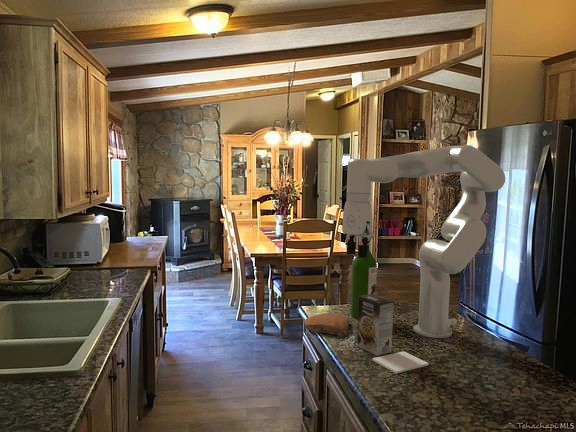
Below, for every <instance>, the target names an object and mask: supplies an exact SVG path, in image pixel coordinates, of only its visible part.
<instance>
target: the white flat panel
mask: <svg viewBox="0 0 576 432" xmlns="http://www.w3.org/2000/svg"><path fill="white" fill-rule="evenodd" d="M372 362H374V363H375V364H378V365H380V366H382V367H383V368H386V370H389V371H391V372H393V373H395V374H400V373H403V372H407V371H411V370H416V369H419V368H420V369H421V368H424V367H427V366H429V362H427V361H425V360H423V359H420V358H419V357H416V356H414V355H412V354H410V353H408V352H406V351H404V350H403V351H402V350H401V351H400V352H399V351H398V352H395V353H390V354H389V353H388V354H384V355H380V356H376V357H373V358H372Z"/></svg>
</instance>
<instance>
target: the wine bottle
mask: <svg viewBox="0 0 576 432" xmlns="http://www.w3.org/2000/svg"><path fill="white" fill-rule="evenodd" d="M362 235H364V234H362ZM363 239H364V237H363ZM370 243H371V241H370V242H369V245H367V257H364V258H359V257H358V254H356V257H355V258H354V259H353V261H352V265H351V267H352V268H351V269H352V271H351V294H350V295H351V297H350V316H351V317H352V318H354V319H356V320H358V308H359V296H362V295H370V294H375V295H377V274H378V273H377V272H378V270H377V269H378V268H377V267H378V266H377V265H378V264H377V261H376V259H375V257H374V255H373V254H372V252H371V250H370V245H371V244H370Z"/></svg>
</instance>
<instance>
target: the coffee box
mask: <svg viewBox="0 0 576 432" xmlns="http://www.w3.org/2000/svg"><path fill="white" fill-rule="evenodd" d="M394 309H395V301H394V299H393V300H392V299H390V298H386V297H383V296H380V295H378V294H376V295H375V294H370V295H362V296H359V308H358V319H357V336H356V337H357V338H356V342H357V343H356V346H357V348H360V349H362V350H364V351H366V352H368V353H370V354H373V355H374V356H376V357H379V356H383V355H387V354H389V353H390V354H391V353H392V343H393V342H392V341H393V324H394Z"/></svg>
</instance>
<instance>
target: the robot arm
mask: <svg viewBox="0 0 576 432" xmlns="http://www.w3.org/2000/svg"><path fill="white" fill-rule="evenodd" d="M346 171H347V172H346V173H347V176H346V177H347V179H346V201H345V203H344V207H343V212H342V220H341V221H342V225H341V227H342V228H341V232H342V234H344V237H345V242H346V255H349V256H350V255H355V254H356V252H357V255H358V257H359V258H364V257H367V245H369V242H370V243H371V240H372V239H373V238H374V237H375V234H374V232H373V210H372V204H371V203H372V202H371V201H372V183H380V184H387V183H392V182H394V181H395V180H396V179H400V178H401V179H402V178H410V179H411V178H412V179H413V178H414V179H415V178H425V177H431V176H437V175H442V174H448V173H454V172H455V173H457V172H458V173H459V172H460V177H459V181H460V186H461V198H460V200H459V202H458V203H457V205H456V206H455V208H454V209H453V210H452V212H451V213H450V214H449V215H448V216H447V218H446V219H445V221H444V222H443V223H442V224H441V225H442V226H441V229H440V233H441V236H442V237H443V238H444V239H445V240H446V241H445V240H440V239H435V238H433V239H432V238H431V239H429V240H428V239H427V240H426V241H425V242H423V244H421V246H420V247H419V248H420V249H419V252H418V259H419V268H420V283H419V284H420V285H419V286H420V287H419V302H418V303H419V305H418V306H419V307H418V323H417V324H415V325H414V326H413V332H414V333H415V334H418V335H420V336H422V337H425V338H432V339H446V338H449V337H451V336H452V334H453V330H452V329H451V328H450V326H451V325H456V324H457V323H458V320H457V319H456V318H449V308H450V289H451V278H450V275H454V274H455V275H456V274H458V273H460V272H461V271H463V270H464V269H465V268H466V267H467V265H469V263H470V262H471V260H473V258H474V256H475V255H476V254H477V252H478V251H479V250H480V249H481V247H482V245H483V244H484V243H485V241H486V238H487V237H486V236H487V226H486V224H485V222H484V221H482V219H481V217H482V216H483V214H484V213H485V211H486V207H487V199H486V192H487V193H493V192H498V191H499V190H501V189H502V188H503V187H504V185H505V183H506V174H505V172H504V170H503V169H502V168H501V166H499V164H497V163H496V162H495V161H493V160H492V159H491V158H490V157H488V156H487V155H486V154H485V153H483V152H482V151H481V150H479V149H478V148H477V147H475V146H473V145H470V144H469V145H468V144H461V145H449V146H442V147H437V148H430V149H423V150H418V151H412V152H407V153H403V154H396V155H390V156H389V155H388V156H385V157H384V156H383V157H377V158H371V159H366V158H352V159H350V160H348V162H347V170H346ZM362 234H364V235H362ZM357 236H358V242H359V244H358V246H356V245H357V242H356V241H355V240H356V237H357ZM363 237H364V239H363ZM447 241H448V242H447ZM356 249H357V251H356Z"/></svg>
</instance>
